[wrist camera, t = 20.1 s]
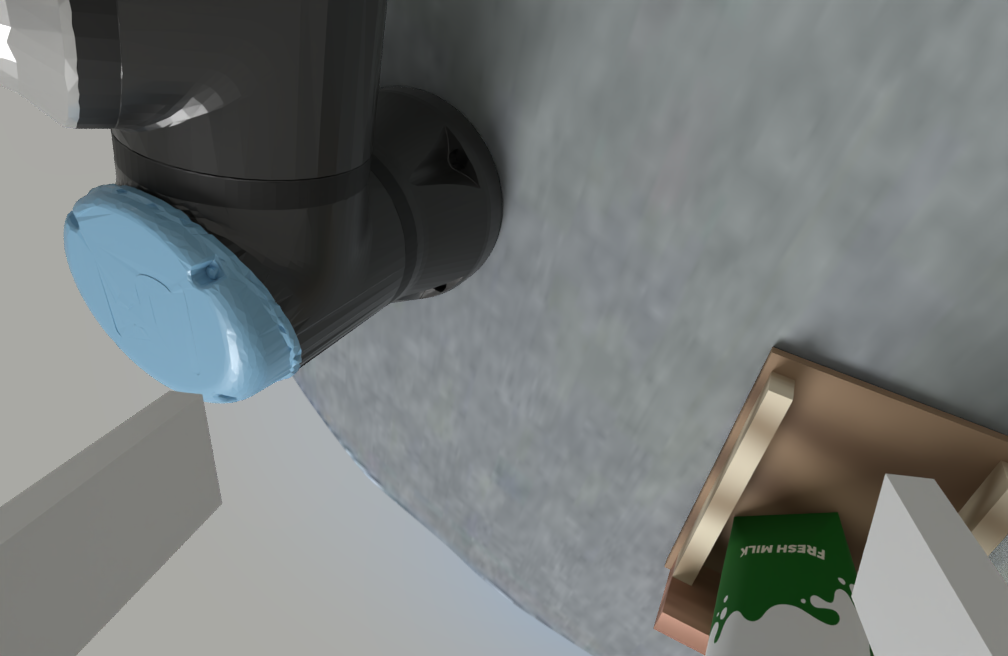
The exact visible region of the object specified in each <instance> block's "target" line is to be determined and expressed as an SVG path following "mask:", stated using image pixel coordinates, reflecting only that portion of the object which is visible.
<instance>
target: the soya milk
mask: <svg viewBox="0 0 1008 656" xmlns="http://www.w3.org/2000/svg"><path fill="white" fill-rule="evenodd" d="M856 578H857V573H856V570H855V566H854V563H853V560H852V557H851V553H850V550H849V547H848V544H847V540H846V537H845V534H844V531H843V527H842V524H841V521H840V517H839V514H838V512H830V513H807V514H783V515H760V516H737V517H736V516H735V517H734V520H733V524H732V529H731V533H730V538H729V542H728V547H727V551H726V556H725V560H724V565H723V570H722V574H721V580H720V585H719V590H718V594H717V599H716V604H715V609H714V615H713V620H712V625H711V630H710V635H709V640H708V645H707V650H706V655H705V656H874V654H873V651H872V649H871V646H870V644H869V641H868V638H867V636H866V633H865V631H864V628H863V625H862V623H861V620H860V618H859V615H858V613H857V610H856V607H855V605H854V602H853V600H852V597H851V596H852V592H853V589H854V585H855V581H856Z"/></svg>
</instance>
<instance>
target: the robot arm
mask: <svg viewBox="0 0 1008 656" xmlns="http://www.w3.org/2000/svg"><path fill="white" fill-rule="evenodd" d="M386 9H387V0H0V86H2V87H5V88H7V89H9V90H12V91H14V92H17V93H18V94H19V95H21V96H22V97H23V98H25V99H26V100H27V101H29V102H30V103H32V104H33V105H34V106H35V107H37V108H38V109H39V110H41V111H42V112H43V113H45V114H46V115H47V116H49V117H50V118H51V119H53V120H54V121H55V122H57V123H58V124H60V125H61V126H62V127H66V128H74V129H77V128H78V129H83V128H84V129H87V128H89V129H95V128H97V129H108V128H109V129H111V133H112V141H113V150H114V161H115V169H116V183H115V184H108V185H101V186H98V187H96V188H93V189H91V190H90V191H89V193H88V194H87V195H86V196H84V197H83V198H80V199H79V200H78V201H77V202H76V203H75V205H74V207H73V211H71V212H70V213H69V214H68V215H67V218H66V221H65V225H64V247H65V252H66V257H67V261H68V264H69V268H70V271H71V273H72V275H73V278H74V281H75V283H76V285H77V287H78V289H79V291H80V293H81V296H82V297H83V299H84V301H85V302H86V304H87V306H88V307H89V309H90V311H91V312H92V314H93V315H94V317H95V318H96V320H97V321H98V322H99V324H100V325H101V327H102V328H103V329H104V330H105V332H106V333H107V334H108V335H109V337H110V338H111V339H112V340H114V342H115V343H116V344H117V346H118V347H119V348H120V349H121V350H122V351H123V352H124V353H125V354H126V355H127V356H128V357H129V358H130V359H131V360H132V361H133V362H134V363H135V364H137V365H138V366H139V367H140V368H141V369H143V370H144V371H145V372H146V373H148V374H149V375H150V376H151V377H153V378H154V379H156V380H157V381H159V382H160V383H162V384H164V385H165V386H167V387H169V388H171V389H172V390H174V391H168V392H167V393H166V394H164V395H163V396H161V397H160V398H158V399H157V400H155V401H154V402H152V403H151V404H149V405H148V406H147V407H145V408H144V409H143V410H141V411H139V412H138V413H136V414H135V415H134V416H132V417H131V418H129V419H128V420H126V421H125V422H123V423H122V424H120V425H119V426H117V427H116V428H115V429H113V430H112V431H110V432H109V433H107V434H106V435H104V436H103V437H101V438H100V439H99V440H97V441H96V442H95V443H93V444H92V445H90V446H88V447H87V448H85V449H84V450H83V451H81V452H80V453H78V454H77V455H75V456H74V457H72V458H71V459H69V460H68V461H67V462H65V463H64V464H62V465H61V466H59V467H58V468H56V469H55V470H54V471H52V472H51V473H49V474H48V475H46V476H45V477H43V478H42V479H41V480H39V481H38V482H36V483H35V484H33V485H32V486H30V487H29V488H27V489H26V490H24V491H23V492H21V493H20V494H19V495H17V496H16V497H14V498H13V499H11V500H10V501H9V502H7V503H5V504H4V505H3V506H1V507H0V656H76V655H77V654H78V653H79V652H80V651H81V650H82V649H83V648H84V647H85V646H86V644H88V642H90V640H91V639H92V638H93V637H94V636H95V635H96V634H97V633H98V632H99V631H100V630H101V629H102V628H103V627H104V626H105V625H106V624H107V623H108V622H109V621H110V620H111V619H112V617H114V616H115V615H116V613H117V612H118V611H119V610H120V609H121V608H122V607H123V606H124V605H125V604H126V603H127V602H128V601H129V600H130V599H131V598H132V597H133V596H134V595H135V593H137V592H138V591H139V590H140V588H141V587H142V586H143V585H144V584H145V583H146V582H147V581H148V580H149V579H150V578H151V577H152V576H153V575H154V574H155V573H156V572H157V571H158V570H159V569H160V568H161V567H162V566H163V565H164V564H165V563H166V561H167V560H168V559H169V558H170V557H171V556H172V555H173V554H174V553H175V552H176V551H177V550H178V549H179V548H180V547H181V546H182V545H183V544H184V543H185V541H187V540H188V539H189V538H190V537H191V535H192V534H193V533H194V532H195V531H196V530H197V529H198V528H199V527H200V526H201V525H202V524H203V523H204V522H205V521H206V520H207V519H208V518H209V517H210V516H211V514H213V513H214V511H216V509H217V508H218V507H219V506H220V505H221V504H222V500H221V494H220V489H219V483H218V479H217V473H216V467H215V461H214V456H213V450H212V445H211V439H210V434H209V428H208V423H207V417H206V412H205V406H204V402H210V403H233V402H237V401H239V400H244V399H246V398H249V397H251V396H253V395H255V394H256V393H258V392H260V391H261V390H263V389H265V388H266V387H268V386H270V385H272V384H273V383H275V382H277V381H280V380H283V379H287V378H290V377H291V376H293V375H294V374H295V373H296V372H297V371H298V370H299V368H301V367H302V366H303V365H305V364H306V363H308V362H309V361H310V360H312V359H313V358H315V357H316V356H317V355H319V354H320V353H321V352H323V351H324V350H326V349H327V348H328V347H330V346H331V345H333V344H334V343H335V342H337V341H338V340H339V339H341V338H342V337H344V336H345V335H346V334H348V333H349V332H351V331H352V330H353V329H355V328H356V327H358V326H359V325H360V324H362V323H363V322H364V321H366V320H367V319H369V318H370V317H371V316H373V315H374V314H376V313H377V312H378V311H380V310H381V309H382V308H384V307H385V306H387V305H388V304H390V303H394V302H401V301H408V300H416V299H423V298H429V297H434V296H437V295H440V294H443V293H445V292H447V291H449V290H451V289H453V288H455V287H457V286H458V285H459V284H461V283H462V282H463V281H465V280H466V279H467V278H469V277H470V276H471V275H473V274H474V273H475V272H476V271H477V270H478V269H479V268H480V267H481V266H482V265H483V264H484V262H485V261H486V260H487V258H488V257H489V255H490V253H491V251H492V249H493V247H494V245H495V243H496V240H497V237H498V234H499V229H500V224H501V217H502V196H501V188H500V182H499V178H498V174H497V171H496V168H495V165H494V162H493V159H492V157H491V155H490V153H489V151H488V149H487V147H486V145H485V143H484V141H483V140H482V138H481V137H480V135H479V134H478V132H477V131H476V130H475V128H474V127H473V126H472V125H471V123H470V122H469V121H468V120H467V119H466V118H465V117H464V116H463V115H462V114H461V113H460V112H459V111H458V110H456V109H455V108H454V107H453V106H451V105H450V104H448V103H447V102H445V101H444V100H442V99H441V98H439V97H437V96H435V95H433V94H431V93H428V92H425V91H423V90H419V89H415V88H410V87H386V88H381V89H379V80H380V70H381V59H382V49H383V39H384V29H385V19H386ZM851 597H852V600H853V602H854V605H855V607H856V610H857V613H858V615H859V618H860V620H861V623H862V625H863V628H864V631H865V633H866V636H867V638H868V641H869V644H870V646H871V649H872V651H873V654H874V656H1008V585H1007V583H1006V582H1005V580H1004V579H1003V577H1002V576H1001V574H1000V573H999V572H998V570H997V569H996V567H995V566H994V564H993V563H992V562H991V560H990V559H989V557H988V556H987V554H986V553H985V551H984V550H983V549H982V547H981V546H980V544H979V543H978V541H977V540H976V539H975V537H974V536H973V534H972V533H971V531H970V530H969V528H968V527H967V526H966V524H965V523H964V521H963V520H962V518H961V517H960V516H959V514H958V513H957V511H956V510H955V508H954V507H953V505H952V504H951V503H950V501H949V500H948V498H947V497H946V495H945V494H944V493H943V491H942V490H941V488H940V487H939V485H938V484H937V482H936V481H935V480H934V479H929V478H921V477H912V476H903V475H895V474H886V473H885V477H884V480H883V484H882V488H881V491H880V495H879V498H878V502H877V506H876V509H875V513H874V516H873V520H872V524H871V527H870V531H869V534H868V538H867V542H866V545H865V549H864V553H863V556H862V560H861V563H860V567H859V571H858V574H857V578H856V581H855V585H854V589H853V592H852V596H851Z"/></svg>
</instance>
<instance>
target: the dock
mask: <svg viewBox="0 0 1008 656" xmlns="http://www.w3.org/2000/svg"><path fill="white" fill-rule="evenodd" d="M885 473H886V474H895V475H903V476H912V477H921V478H929V479H934V480H935V481H936V482H937V484H938V485H939V487H940V488H941V490H942V491H943V493H944V494H945V495H946V497H947V498H948V500H949V501H950V503H951V504H952V505H953V507H954V508H955V510H956V511H957V513H958V514H959V516H960V517H961V518H962V520H963V521H964V523H965V524H966V526H967V527H968V528H969V530H970V531H971V533H972V534H973V536H974V537H975V539H976V540H977V541H978V543H979V544H980V546H981V547H982V549H983V550H984V551H985V553H986V554H987V556H989V555H990V553H991V552H992V551H993V550H994V549H995V548H996V547H997V546H998V545H999V543H1000V542H1001V541H1002V540H1003V539H1004V538H1005V537H1006V536H1007V534H1008V436H1006V435H1004V434H1001V433H999V432H996V431H993V430H991V429H988V428H985V427H983V426H980V425H977V424H975V423H972V422H970V421H967V420H964V419H962V418H959V417H956V416H954V415H951V414H948V413H946V412H943V411H941V410H938V409H935V408H933V407H930V406H927V405H925V404H922V403H919V402H917V401H914V400H911V399H909V398H906V397H904V396H901V395H898V394H896V393H893V392H890V391H888V390H885V389H882V388H880V387H877V386H875V385H872V384H869V383H867V382H864V381H861V380H859V379H856V378H853V377H851V376H848V375H846V374H843V373H840V372H838V371H835V370H832V369H830V368H827V367H824V366H822V365H819V364H817V363H814V362H811V361H809V360H806V359H803V358H801V357H798V356H795V355H793V354H790V353H787V352H785V351H782V350H780V349H777V348H774V347H772V349H771V351H770V353H769V355H768V357H767V359H766V361H765V363H764V365H763V367H762V369H761V371H760V373H759V375H758V377H757V379H756V381H755V383H754V385H753V387H752V389H751V391H750V393H749V395H748V397H747V399H746V401H745V403H744V405H743V407H742V409H741V411H740V413H739V415H738V417H737V419H736V421H735V424H734V426H733V428H732V430H731V432H730V434H729V436H728V438H727V440H726V442H725V444H724V446H723V448H722V450H721V452H720V454H719V456H718V458H717V460H716V462H715V464H714V466H713V468H712V470H711V472H710V474H709V476H708V478H707V480H706V482H705V484H704V486H703V488H702V490H701V492H700V494H699V496H698V498H697V500H696V502H695V504H694V506H693V508H692V510H691V512H690V514H689V516H688V518H687V520H686V522H685V524H684V526H683V528H682V530H681V532H680V534H679V536H678V538H677V540H676V542H675V544H674V546H673V548H672V550H671V552H670V554H669V556H668V558H667V560H666V563H665V567H666V568H668V569H670V573H669V576H668V580H667V583H666V587H665V590H664V594H663V597H662V601H661V604H660V608H659V611H658V615H657V618H656V621H655V625H654V628H653V629H655V630H657V631H659V632H661V633H663V634H665V635H667V636H669V637H671V638H673V639H674V640H676V641H678V642H680V643H682V644H684V645H686V646H688V647H690V648H692V649H694V650H696V651H698V652H700V653H702V654H703V655H706V650H707V645H708V640H709V635H710V630H711V625H712V620H713V615H714V609H715V604H716V599H717V594H718V590H719V585H720V580H721V574H722V570H723V565H724V560H725V556H726V551H727V547H728V542H729V538H730V533H731V529H732V524H733V520H734V517H735V516H736V517H737V516H760V515H783V514H807V513H830V512H838V514H839V517H840V521H841V524H842V527H843V531H844V534H845V537H846V540H847V544H848V547H849V550H850V553H851V557H852V560H853V563H854V566H855V570H856V573H857V574H858V571H859V567H860V563H861V560H862V556H863V553H864V549H865V545H866V542H867V538H868V534H869V531H870V527H871V524H872V520H873V516H874V513H875V509H876V506H877V502H878V498H879V495H880V491H881V488H882V484H883V480H884V477H885Z"/></svg>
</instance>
